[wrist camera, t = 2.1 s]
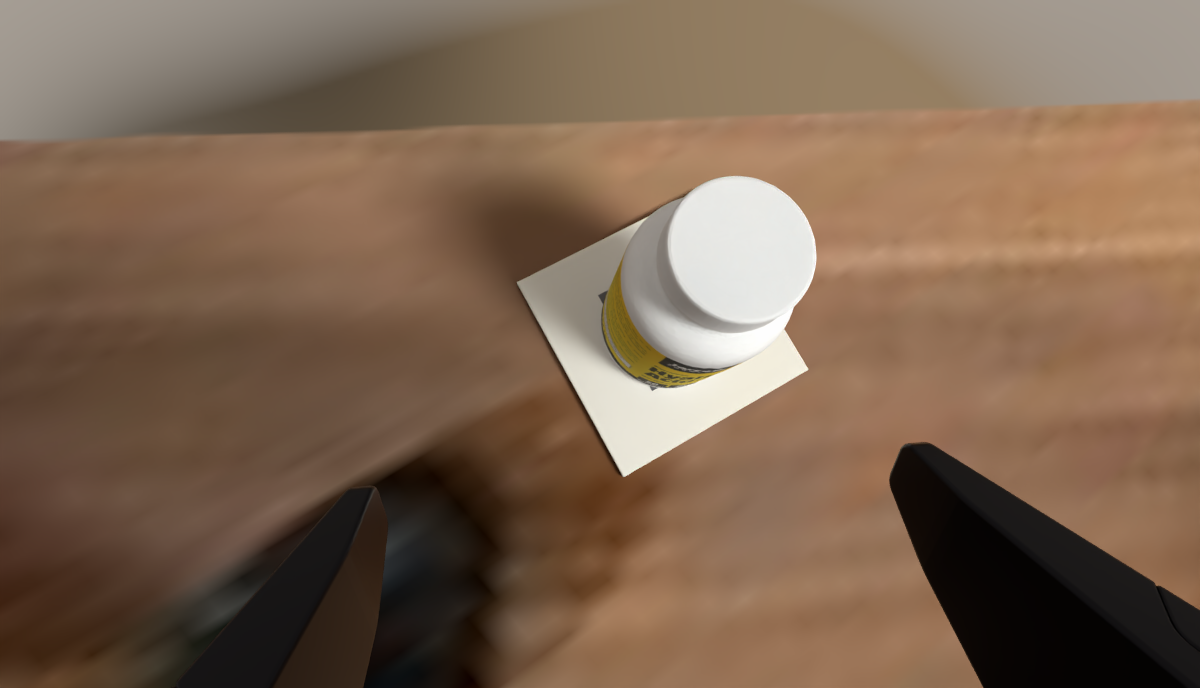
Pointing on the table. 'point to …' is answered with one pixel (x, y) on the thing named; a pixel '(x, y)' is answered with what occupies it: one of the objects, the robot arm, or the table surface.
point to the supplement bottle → (707, 282)
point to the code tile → (613, 399)
